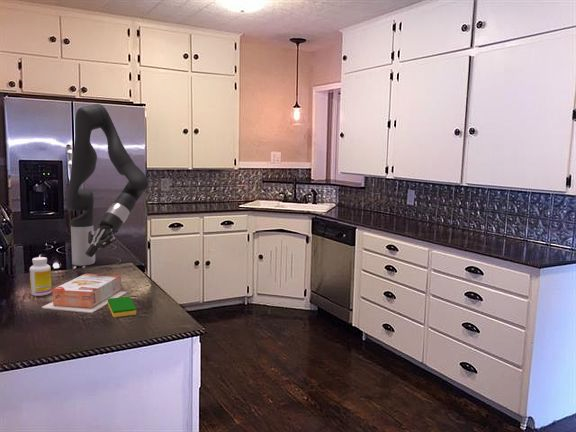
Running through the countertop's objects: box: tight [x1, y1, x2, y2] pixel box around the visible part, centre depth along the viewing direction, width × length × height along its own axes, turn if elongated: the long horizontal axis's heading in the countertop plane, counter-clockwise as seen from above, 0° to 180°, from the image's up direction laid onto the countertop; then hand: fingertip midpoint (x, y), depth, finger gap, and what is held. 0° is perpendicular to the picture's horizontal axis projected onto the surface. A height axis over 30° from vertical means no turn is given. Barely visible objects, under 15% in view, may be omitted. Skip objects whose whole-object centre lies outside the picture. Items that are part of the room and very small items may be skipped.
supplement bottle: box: [29, 256, 53, 297], centre depth 171 cm, size 7×7×13 cm
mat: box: [41, 290, 128, 314], centre depth 166 cm, size 22×18×1 cm
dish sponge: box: [107, 296, 137, 318], centre depth 158 cm, size 7×14×2 cm, turn 27°
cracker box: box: [51, 273, 122, 308], centre depth 167 cm, size 14×6×21 cm
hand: (88, 255), depth 172 cm, fingers closed
